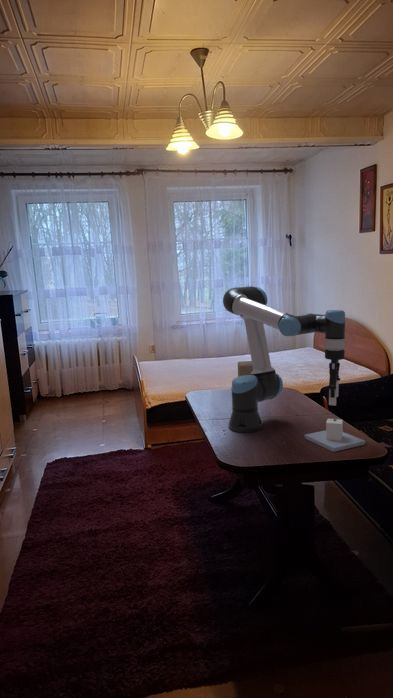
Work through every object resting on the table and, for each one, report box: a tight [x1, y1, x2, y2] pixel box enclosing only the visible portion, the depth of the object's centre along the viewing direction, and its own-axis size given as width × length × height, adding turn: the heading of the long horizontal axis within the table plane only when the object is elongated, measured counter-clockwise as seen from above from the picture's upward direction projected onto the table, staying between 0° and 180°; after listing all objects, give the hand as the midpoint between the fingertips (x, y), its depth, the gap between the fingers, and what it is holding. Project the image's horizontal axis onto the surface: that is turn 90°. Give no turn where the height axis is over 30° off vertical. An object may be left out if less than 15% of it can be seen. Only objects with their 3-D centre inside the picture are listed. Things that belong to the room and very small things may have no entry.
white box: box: [325, 417, 344, 441], centre depth 188 cm, size 6×6×8 cm
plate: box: [304, 429, 366, 453], centre depth 188 cm, size 16×18×7 cm
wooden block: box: [237, 360, 253, 377], centre depth 264 cm, size 10×10×20 cm
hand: (333, 400), depth 186 cm, fingers open, 13 cm apart
